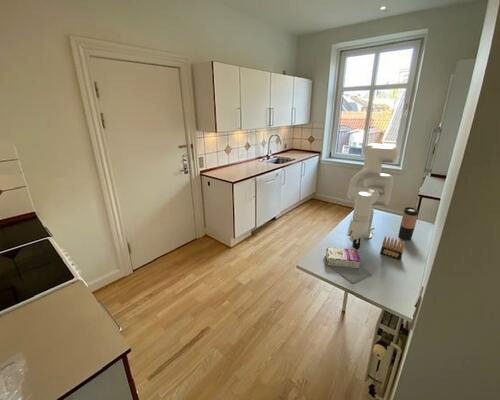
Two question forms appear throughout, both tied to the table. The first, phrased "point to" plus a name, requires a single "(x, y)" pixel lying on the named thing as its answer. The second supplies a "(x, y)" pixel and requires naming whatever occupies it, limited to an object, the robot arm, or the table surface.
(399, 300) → the table surface
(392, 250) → the ammunition clip
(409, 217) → the travel mug
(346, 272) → the mat
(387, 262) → the table surface
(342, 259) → the candy bar box
